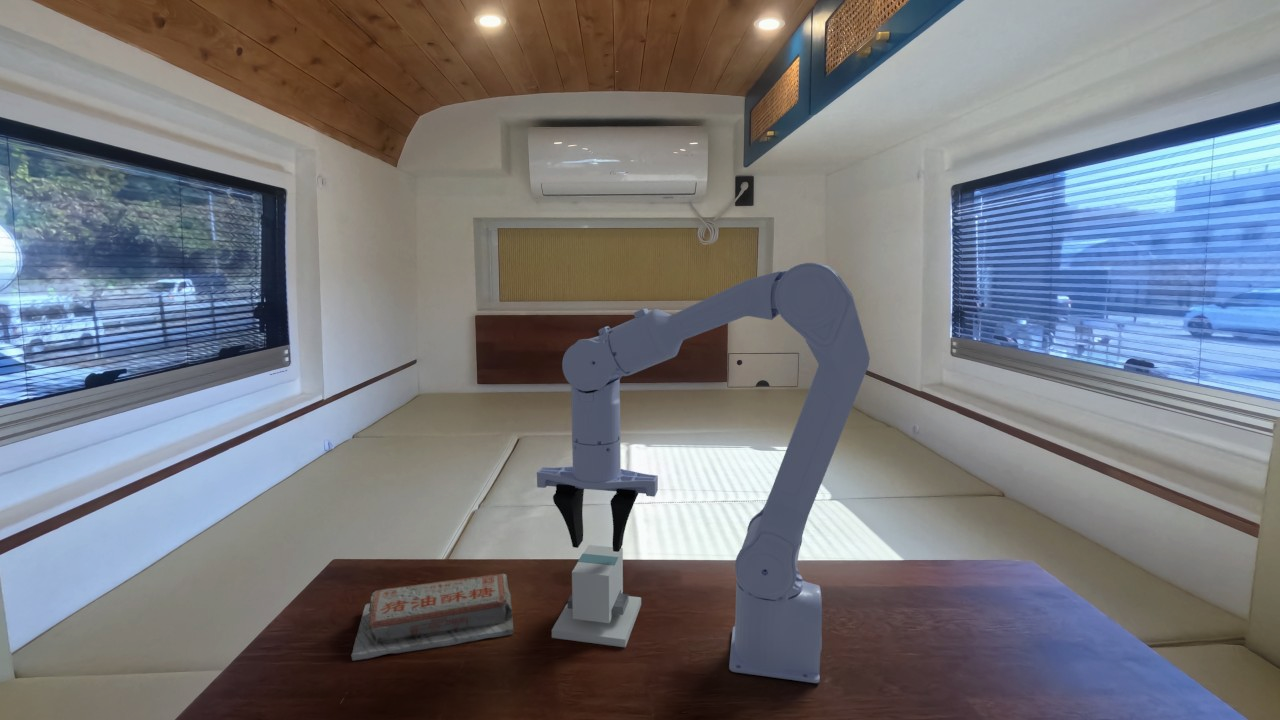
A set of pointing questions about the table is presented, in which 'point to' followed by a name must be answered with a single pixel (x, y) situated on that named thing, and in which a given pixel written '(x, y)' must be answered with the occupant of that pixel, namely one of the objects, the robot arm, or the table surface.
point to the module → (597, 583)
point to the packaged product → (434, 615)
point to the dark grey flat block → (618, 605)
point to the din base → (598, 626)
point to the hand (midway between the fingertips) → (597, 545)
